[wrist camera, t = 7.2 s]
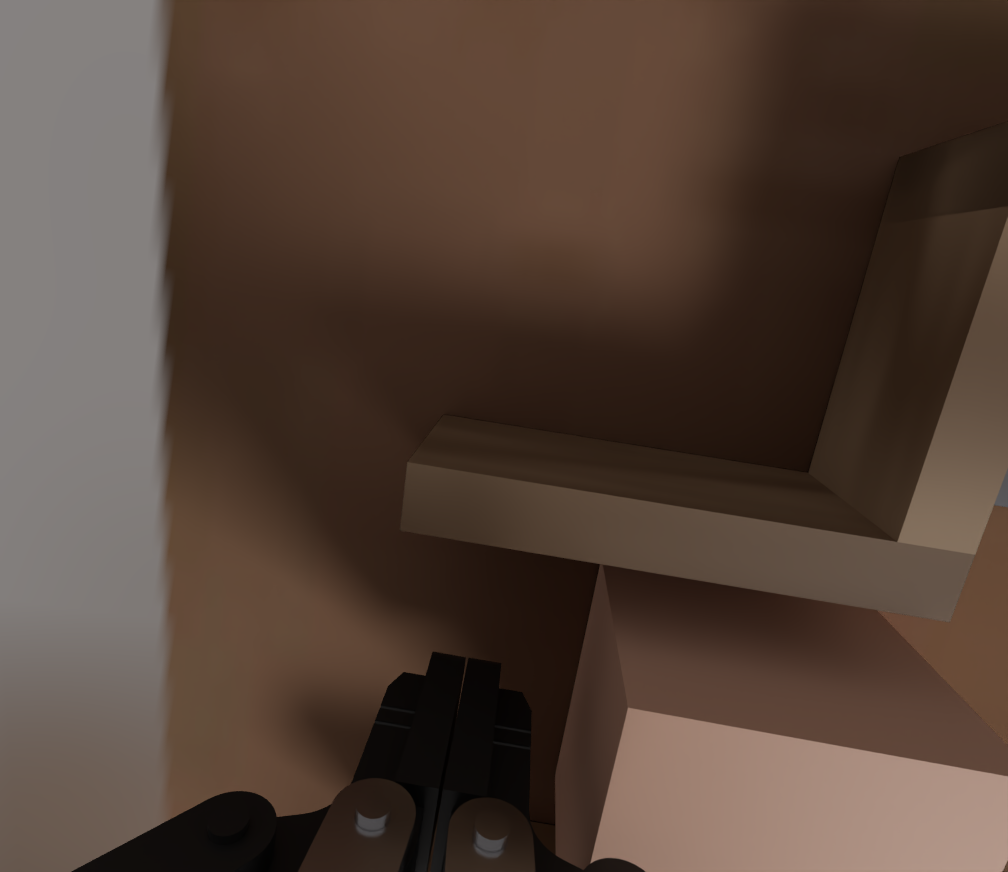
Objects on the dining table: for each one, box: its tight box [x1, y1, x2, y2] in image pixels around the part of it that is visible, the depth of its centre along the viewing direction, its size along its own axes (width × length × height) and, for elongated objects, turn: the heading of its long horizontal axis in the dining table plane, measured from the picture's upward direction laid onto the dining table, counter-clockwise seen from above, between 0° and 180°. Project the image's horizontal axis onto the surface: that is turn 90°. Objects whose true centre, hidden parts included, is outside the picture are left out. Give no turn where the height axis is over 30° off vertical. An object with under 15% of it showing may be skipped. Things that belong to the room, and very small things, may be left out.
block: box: [555, 564, 1008, 872], centre depth 12 cm, size 6×6×5 cm
